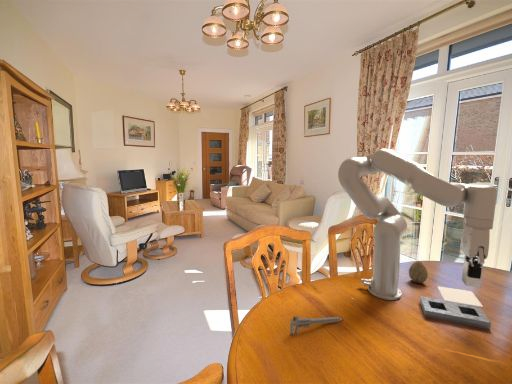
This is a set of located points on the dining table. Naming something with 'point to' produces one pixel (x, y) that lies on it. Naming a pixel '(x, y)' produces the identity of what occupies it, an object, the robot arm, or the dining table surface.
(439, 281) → the dining table surface
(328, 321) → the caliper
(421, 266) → the decorative egg
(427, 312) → the block with square recesses
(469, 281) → the steel block
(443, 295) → the tile
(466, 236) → the robot arm
